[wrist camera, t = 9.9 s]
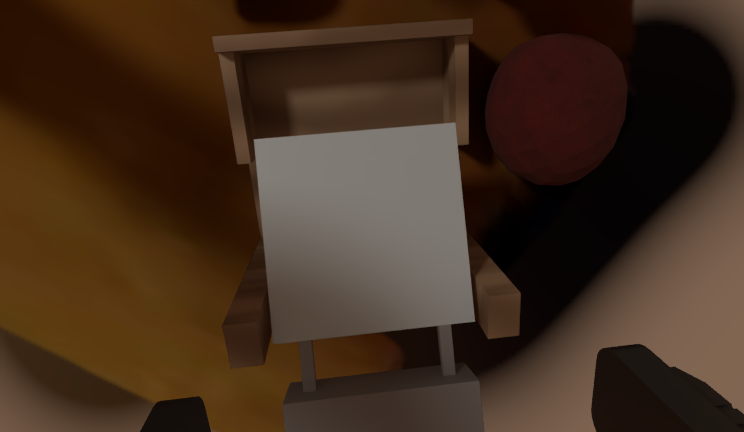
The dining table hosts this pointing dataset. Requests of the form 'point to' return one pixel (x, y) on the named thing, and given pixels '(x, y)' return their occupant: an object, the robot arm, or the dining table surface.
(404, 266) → the trapdoor
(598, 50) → the potato
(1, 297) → the dining table surface
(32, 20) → the dining table surface
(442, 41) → the stand
